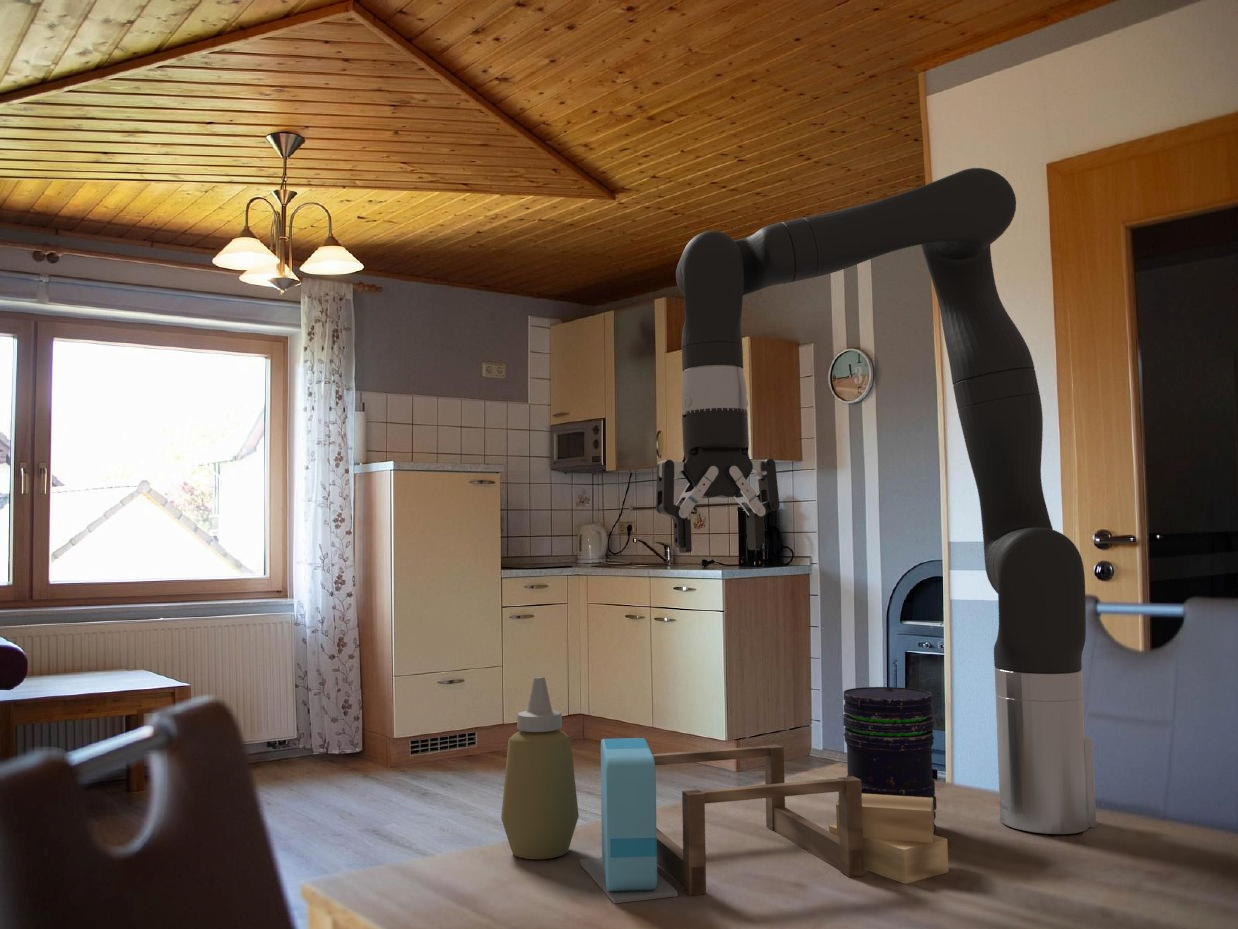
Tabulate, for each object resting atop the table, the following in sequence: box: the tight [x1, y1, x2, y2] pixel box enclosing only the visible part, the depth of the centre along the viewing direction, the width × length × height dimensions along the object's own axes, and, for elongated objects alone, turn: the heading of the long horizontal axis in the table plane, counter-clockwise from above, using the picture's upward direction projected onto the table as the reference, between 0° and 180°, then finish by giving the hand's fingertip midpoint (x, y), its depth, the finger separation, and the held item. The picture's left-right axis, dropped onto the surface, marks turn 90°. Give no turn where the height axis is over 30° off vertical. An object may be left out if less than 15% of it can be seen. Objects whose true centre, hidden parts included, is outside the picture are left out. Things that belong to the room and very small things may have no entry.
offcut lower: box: [828, 823, 949, 885], centre depth 103 cm, size 6×10×4 cm, turn 32°
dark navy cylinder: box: [842, 686, 937, 835], centre depth 116 cm, size 10×10×15 cm
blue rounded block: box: [600, 737, 658, 891], centre depth 99 cm, size 12×4×12 cm, turn 4°
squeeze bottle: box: [500, 676, 580, 860], centre depth 108 cm, size 8×8×18 cm
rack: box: [652, 743, 865, 897], centre depth 106 cm, size 18×19×9 cm
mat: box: [579, 857, 678, 904], centre depth 99 cm, size 6×12×1 cm, turn 17°
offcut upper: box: [835, 794, 935, 843], centre depth 103 cm, size 5×9×3 cm, turn 71°
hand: (720, 551), depth 117 cm, fingers open, 8 cm apart
